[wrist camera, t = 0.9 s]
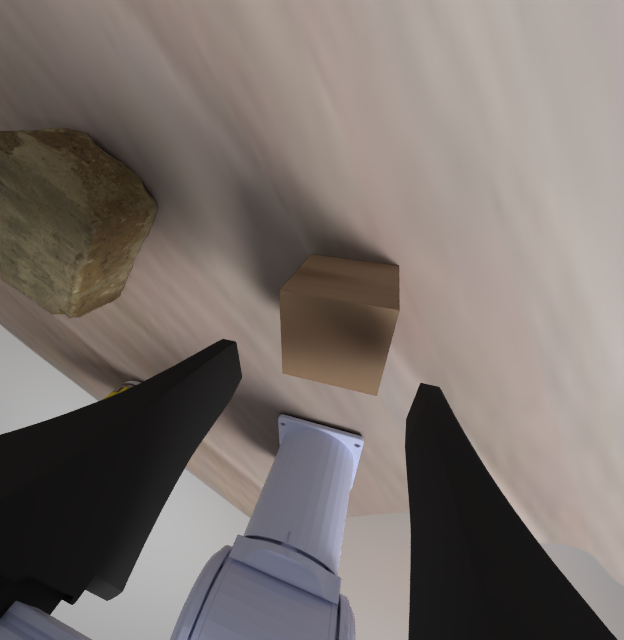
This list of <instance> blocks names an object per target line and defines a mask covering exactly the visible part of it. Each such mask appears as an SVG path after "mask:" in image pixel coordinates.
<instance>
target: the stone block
mask: <svg viewBox="0 0 624 640" xmlns="http://www.w3.org/2000/svg"><path fill="white" fill-rule="evenodd" d="M156 209H157V204H156V202H155V201H154V199H153V198H152V197H151V196H150V195H149V194H148V193H147V191H146V189H145V188H144V185H143V183H142V181H141V179H140V178H139V177H138V176H137V175H136V174H134V173H133V172H132V171H131V170H130V169H129V168H128V167H126V166H125V165H124V164H123V163H122V162H121V161H119V160H118V159H116V158H114V157H112V156H110V155H109V154H107V153H106V152H105V151H104V150H102V149H101V148H99V147H98V146H97V145H96V143H95V142H94V141H93V140H92V139H91V138H90V136H89V135H88V134H86V133H83V132H80V131H75V130H71V129H67V128H49V129H41V130H33V131H32V130H22V131H0V278H1V279H2V280H3V281H4V282H6V283H8V284H9V285H11V286H13V287H14V288H16V289H17V290H19V291H20V292H21V293H23V294H25V295H27V296H28V297H29V298H31V299H32V300H33V301H35V302H36V303H37V304H38V305H39V306H41V307H42V308H43V309H45V310H46V311H48V312H49V313H50V314H51V315H52V314H66V315H67V316H68V317H69V318H72V317H76V318H77V317H81V316H83V315H85V314H87V313H89V312H91V311H93V310H95V309H97V308H99V307H101V306H103V305H105V304H107V303H110V302H112V301H114V300H115V299H117V298H118V297H119V296H120V294H121V291H122V290H123V288H124V286H125V283H126V280H127V278H128V275H129V272H130V271H131V269H132V267H133V260H134V257H135V256H136V255H137V254H138V252H139V251H140V246H141V244H142V242H143V240H144V239H145V238H146V236H147V235H148V233H149V231H150V229H151V226H152V224H153V221H154V217H155V213H156Z"/></svg>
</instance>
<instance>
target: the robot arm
mask: <svg viewBox="0 0 624 640" xmlns="http://www.w3.org/2000/svg"><path fill="white" fill-rule="evenodd" d="M241 379H242V373H241V367H240V361H239V355H238V349H237V343H236V342H235V341H230V340H226V339H222V340H220V341H218V342H216V343H214V344H212V345H211V346H209V347H207V348H205V349H203V350H202V351H200V352H198V353H196V354H195V355H193V356H191V357H189V358H187V359H186V360H184V361H182V362H180V363H178V364H176V365H175V366H173V367H171V368H169V369H167V370H165V371H163V372H161V373H159V374H157V375H155V376H153V377H151V378H150V379H148V380H146V381H144V382H142V383H140V384H137V385H135V386H133V387H131V388H129V389H127V390H124V391H122V392H120V393H117V394H115V395H113V396H111V397H108V398H106V399H103V400H101V401H98V402H96V403H93V404H91V405H88V406H85V407H83V408H80V409H77V410H75V411H72V412H69V413H67V414H64V415H61V416H58V417H55V418H52V419H49V420H46V421H43V422H40V423H37V424H34V425H31V426H28V427H25V428H21V429H18V430H15V431H12V432H8V433H5V434H1V435H0V640H92V639H90V638H88V637H86V636H85V635H83V634H81V633H79V632H78V631H76V630H74V629H73V628H71V627H69V626H68V625H66V624H64V623H62V622H60V621H59V620H57V619H55V618H54V617H52V616H50V614H51V613H52V612H53V610H54V609H55V608H56V606H57V605H58V604H59V602H60V601H61V600H64V601H66V602H67V603H69V604H71V605H73V604H74V603H75V602H76V601H77V600H78V598H79V597H80V596H81V594H82V593H83V592H84V590H87V591H89V592H91V593H93V594H95V595H97V596H99V597H101V598H103V599H105V600H106V601H108V600H110V599H112V598H114V597H116V596H117V595H119V594H120V593H121V592H122V591H123V590H124V587H125V585H126V582H127V581H128V578H129V576H130V574H131V572H132V570H133V568H134V565H135V563H136V561H137V559H138V557H139V555H140V553H141V551H142V548H143V546H144V544H145V542H146V540H147V538H148V536H149V534H150V532H151V530H152V528H153V526H154V524H155V522H156V520H157V518H158V516H159V514H160V512H161V510H162V508H163V506H164V505H165V503H166V501H167V499H168V497H169V495H170V494H171V492H172V490H173V488H174V486H175V484H176V483H177V481H178V479H179V477H180V475H181V474H182V472H183V470H184V468H185V467H186V465H187V463H188V461H189V460H190V458H191V456H192V455H193V453H194V452H195V450H196V449H197V447H198V446H199V444H200V443H201V441H202V440H203V439H204V437H205V436H206V434H207V433H208V431H209V430H210V428H211V427H212V426H213V424H214V423H215V421H216V420H217V418H218V417H219V416H220V414H221V413H222V411H223V410H224V408H225V407H226V405H227V404H228V402H229V401H230V399H231V398H232V396H233V394H234V392H235V390H236V389H237V387H238V385H239V383H240V381H241ZM278 427H279V443H280V448H279V450H278V452H277V455H276V457H275V460H274V462H273V465H272V467H271V470H270V472H269V475H268V477H267V479H266V482H265V484H264V487H263V489H262V492H261V494H260V497H259V499H258V501H257V504H256V506H255V509H254V511H253V514H252V516H251V519H250V521H249V524H248V526H247V528H246V531H245V533H244V536H241V535H237V537H236V540H235V542H234V545H233V547H231V546H229V545H226V546H224V547H223V548H222V549H221V550H220V551H218V552H217V553H215V554H214V555H213V556H212V557H211V558H210V560H209V561H208V562H207V563H206V565H205V567H204V568H203V570H202V571H201V573H200V575H199V576H198V578H197V580H196V582H195V584H194V586H193V588H192V589H191V592H190V594H189V596H188V598H187V600H186V602H185V604H184V606H183V609H182V611H181V613H180V616H179V618H178V620H177V623H176V625H175V628H174V630H173V633H172V636H171V639H170V640H355V618H354V614H353V612H352V609H351V607H350V604H349V600H348V598H347V597H346V596H344V595H342V594H340V587H341V578H340V577H338V569H339V562H340V554H341V548H342V541H343V535H344V527H345V521H346V514H347V507H348V500H349V493H350V490H351V489H352V485H353V482H354V478H355V474H356V470H357V467H358V463H359V459H360V455H361V451H362V448H363V444H364V439H363V437H361V436H359V435H356V434H352V433H348V432H345V431H341V430H338V429H334V428H330V427H327V426H323V425H320V424H316V423H312V422H309V421H305V420H302V419H298V418H294V417H291V416H287V415H283V414H282V415H280V416H279V418H278ZM405 452H406V467H407V480H408V494H409V507H410V522H411V573H410V613H409V640H617V639H616V637H615V636H614V635H613V634H612V633H611V632H610V631H609V630H608V628H607V627H606V626H605V625H604V623H603V622H602V621H601V620H600V618H599V617H598V616H597V615H596V614H595V612H594V611H593V610H592V609H591V607H590V606H589V605H588V604H587V603H586V601H585V600H584V599H583V598H582V597H581V595H580V594H579V593H578V592H577V590H576V589H575V588H574V587H573V586H572V584H571V583H570V582H569V581H568V580H567V578H566V577H565V576H564V575H563V573H562V572H561V571H560V570H559V569H558V567H557V566H556V565H555V564H554V562H553V561H552V560H551V558H550V557H549V556H548V555H547V553H546V552H545V551H544V549H543V548H542V547H541V545H540V544H539V543H538V541H537V540H536V539H535V538H534V536H533V535H532V534H531V532H530V531H529V530H528V528H527V527H526V525H525V524H524V523H523V521H522V520H521V519H520V517H519V516H518V515H517V513H516V512H515V510H514V509H513V508H512V506H511V505H510V503H509V502H508V500H507V499H506V498H505V496H504V495H503V493H502V492H501V490H500V489H499V487H498V486H497V484H496V483H495V481H494V480H493V478H492V477H491V475H490V474H489V472H488V471H487V469H486V467H485V466H484V464H483V463H482V461H481V460H480V458H479V456H478V455H477V453H476V451H475V450H474V448H473V446H472V445H471V443H470V441H469V440H468V438H467V436H466V435H465V433H464V431H463V429H462V428H461V426H460V424H459V422H458V420H457V419H456V417H455V415H454V413H453V411H452V409H451V408H450V406H449V404H448V402H447V400H446V398H445V396H444V394H443V392H442V390H441V389H440V387H437V386H432V385H428V384H423V383H420V386H419V388H418V391H417V393H416V396H415V398H414V401H413V403H412V406H411V408H410V411H409V413H408V416H407V419H406V437H405Z"/></svg>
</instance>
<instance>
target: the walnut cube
mask: <svg viewBox="0 0 624 640" xmlns="http://www.w3.org/2000/svg"><path fill="white" fill-rule="evenodd" d="M279 295H280V320H281V344H282V368H283V374H287V375H291V376H295V377H300V378H304V379H308V380H312V381H316V382H320V383H325V384H329V385H333V386H337V387H341V388H345V389H350V390H354V391H358V392H362V393H366V394H370V395H374V396H377V393H378V389H379V386H380V382H381V378H382V374H383V370H384V367H385V363H386V359H387V355H388V352H389V348H390V344H391V340H392V337H393V333H394V329H395V325H396V321H397V318H398V314H399V266H397V265H389V264H382V263H374V262H366V261H359V260H351V259H343V258H336V257H328V256H321V255H313V254H311V255H310V256H309V257H308V258H307V260H306V261H305V262H304V263H303V264H302V265H301V266H300V267H299V269H298V270H297V271H296V272H295V273H294V274H293V275H292V276H291V278H290V279H289V280H288V281H287V282H286V283H285V284H284V286H283V287H282V288H281V289H280V290H279Z"/></svg>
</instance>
